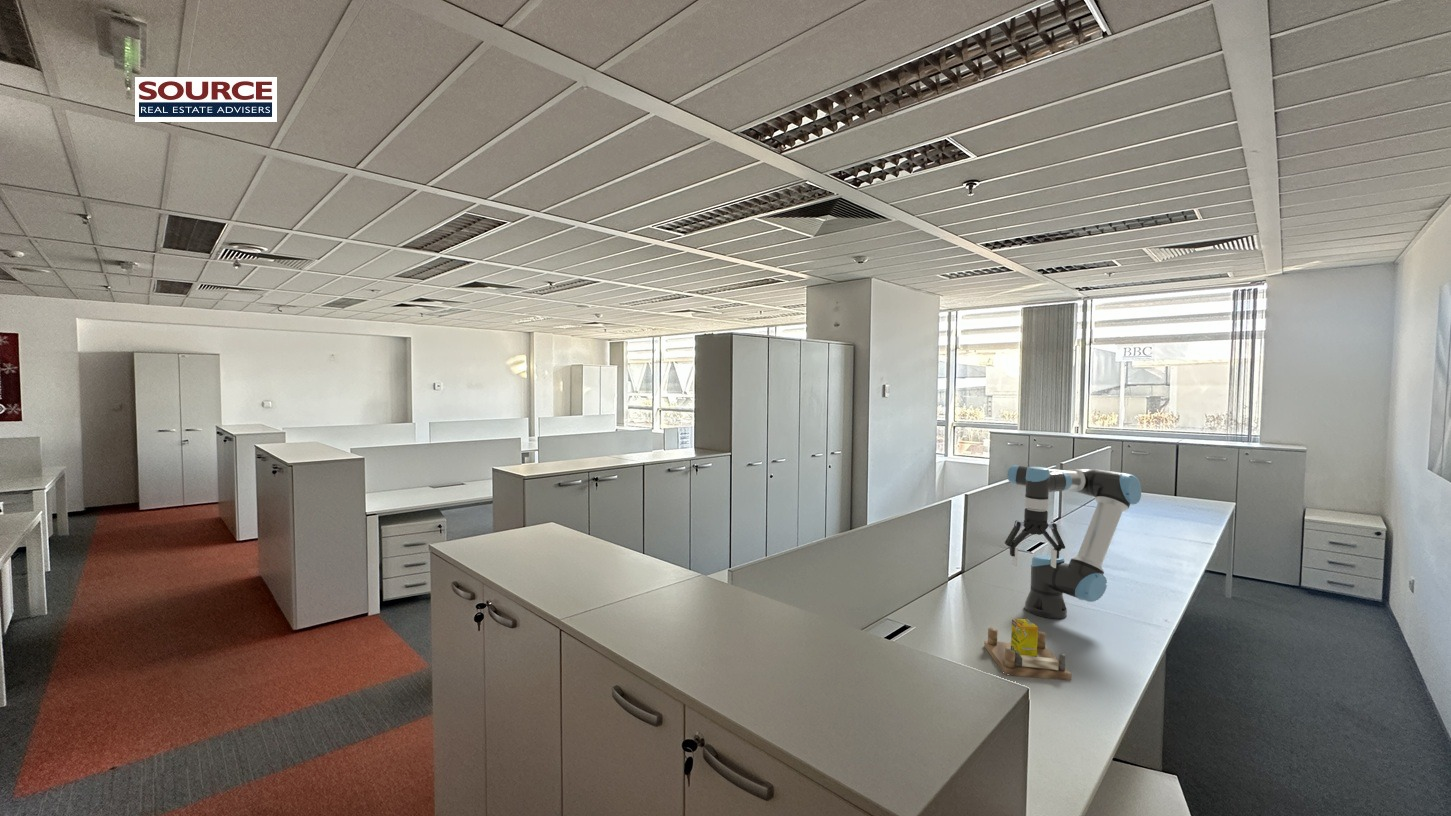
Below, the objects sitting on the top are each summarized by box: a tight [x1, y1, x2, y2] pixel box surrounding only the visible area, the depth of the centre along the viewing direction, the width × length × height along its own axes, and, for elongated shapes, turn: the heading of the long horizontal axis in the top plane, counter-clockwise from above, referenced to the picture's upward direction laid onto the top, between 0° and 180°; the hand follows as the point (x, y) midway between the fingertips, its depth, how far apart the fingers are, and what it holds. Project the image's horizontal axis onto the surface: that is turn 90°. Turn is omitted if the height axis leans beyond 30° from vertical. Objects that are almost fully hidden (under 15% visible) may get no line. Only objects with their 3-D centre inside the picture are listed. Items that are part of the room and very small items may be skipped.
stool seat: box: [983, 627, 1072, 681], centre depth 190 cm, size 20×20×7 cm
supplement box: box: [1010, 618, 1039, 657], centre depth 191 cm, size 6×6×11 cm
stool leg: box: [1015, 654, 1059, 670], centre depth 183 cm, size 13×3×3 cm, turn 79°
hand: (1033, 565), depth 209 cm, fingers open, 13 cm apart
